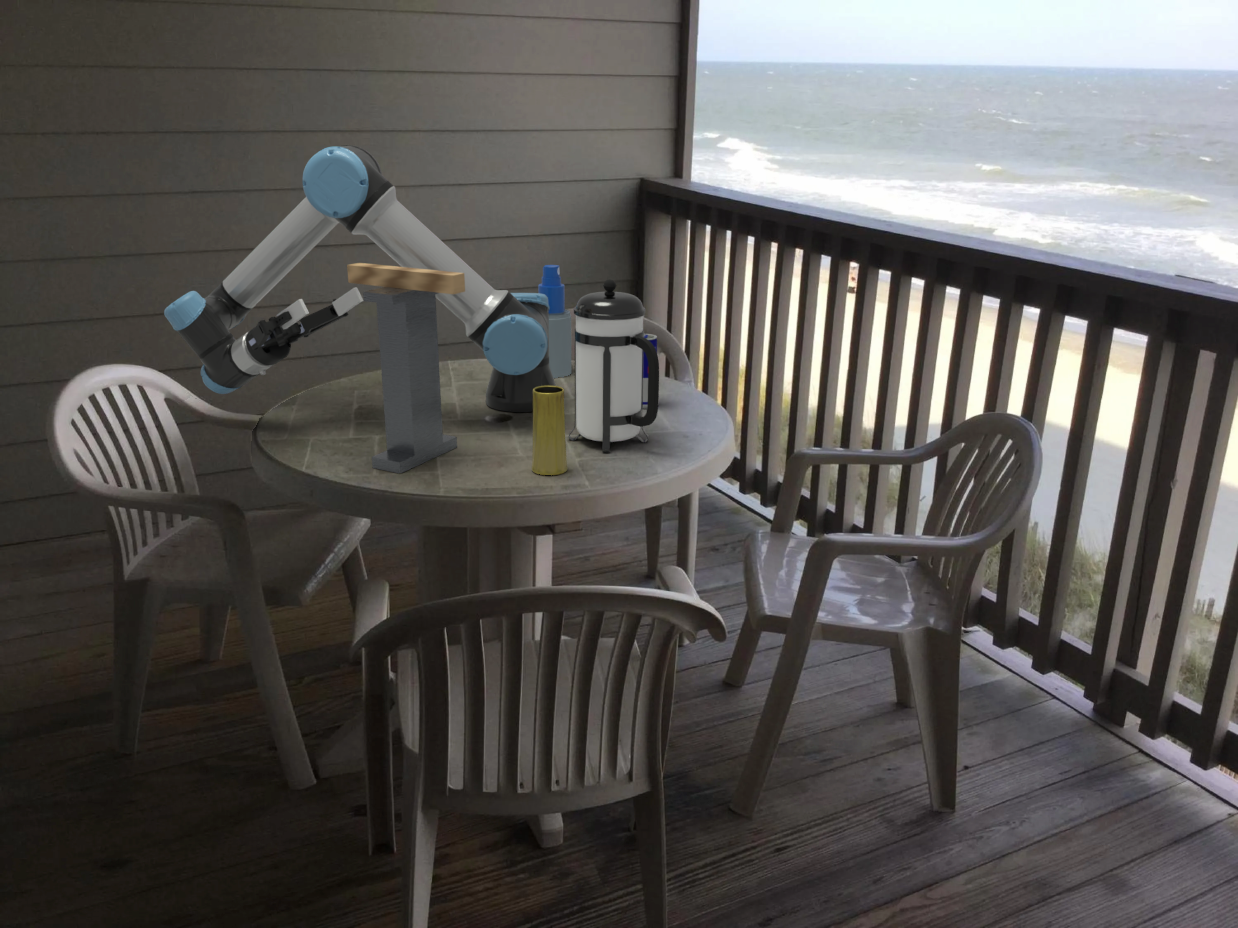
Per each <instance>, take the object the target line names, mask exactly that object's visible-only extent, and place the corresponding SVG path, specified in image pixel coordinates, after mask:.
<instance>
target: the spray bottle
mask: <svg viewBox="0 0 1238 928" xmlns="http://www.w3.org/2000/svg"><path fill="white" fill-rule="evenodd" d="M560 269H561V268H560V265H557V264H545V265H544V266H542V276H541V283H539V284H538V286H537V288H538V289H537V290H538V293H541V294H545V295H546V296H547V297H548V305H549V307H550V308H549V366H550V370H551V373H552V376H553V378H554V379H559V378H558V377H562V378H565V377H564V376H567V377H569V376H571V375H572V314H571V311H570V310H568V309H566V308H565V303H566V302H565V301H566V299H565V296H566V295H565V294H566V293H565V284H564V283H562V277H561V276H560V274H561V273H560V272H561V271H560ZM570 374H571V375H570ZM568 375H569V376H568Z"/></svg>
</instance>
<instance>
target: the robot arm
mask: <svg viewBox="0 0 1238 928" xmlns="http://www.w3.org/2000/svg"><path fill="white" fill-rule="evenodd" d="M302 189H303V193H304V195H305V197H304V198H303V199H302V200H301V201H300V203H298V204H297V206H295V208H294V209H292V210H291V212H290V213H288V214H287V215H286V216H285V218H283V219H282V220H281V221H280V223H279V224H278V225H277V226H276V227H275V228H274V229H273V230H272V231H271V232H269V234H268V235H267V236H266V237H265V238H264V239H263V240H262V241H261V242H260V243H259V244H258V245H257V246H256V247H255V248H253V250H252V251H251V252H250V253H249V254H248V255H247V256H246V257H245V258H244V259H243V261H241V262H240V263H239V264H238V265H237V266H236V267H235V269H233V270H232V272H231V273H229V274H228V275H227V276H226V277H225V278H224V279H223V281H221V283H219V285H217V286H216V288H214V290H212V291H211V293H210V294H208V295H207V296H206V297H202V295H201V294H200V293H198V291H196V290H190V291H188V292H186V293H185V294H183V295H181V296H180V297H179V298H177V299H176V300H175V301H173V302H171V303H170V304H169V305H168V306H166V308H164V311H163V313H164V314H163V315H164V317H165V318H166V319H167V321H168V322H169V323H170V325H171V326H172V328H173V330H174V331H175V332H176V333H178V335H179V336H180V337H181V338H182V339H183V341H185V343H186V344H187V345H188V347H189V348H190V349H191V350H192V351H193V352H194V354H195V355H196V356H197V357H198V358H199V360H200V362H201V363H202V366H201V369H200V376H201V378H202V382H203V384H204V385H205V387H207V388H208V389H209V390H210V391H212V392H214V393H216V394H218V395H225V394H227V395H228V394H231V393H232V392H234V391H236V390H237V389H241V388H242V387H244V386H245V385H247V384H248V383H250V382H251V381H252V380H254V379H255V378H257V377H258V376H260V375H261V376H264V375H266V374H267V373H266V370H268V369H270V368H271V367H272V366H274V365H277V363H279V362H282V361H283V360H284V359H285V358H287V357H288V356H289V354H290V353H291V348H292V344H293V343H296V342H297V341H298V340H300V339H301V338H308V337H309V336H311V335H312V334H314V333H316V332H317V331H320V330H322V329H323V328H325V327H327V326H329V325H331V324H333V323H335V322H337V321H339V320H341V319H343V318H345V317H348V315H349V313H348V311H350V310H352V309H353V308H354V307H356V306H358V305H359V304H360V303H362V302H365V301H364V297H363V295H362V294H361V293H360V290H359V288H358V287H357V286H356V287H355V286H354V287H352V289H351V288H350V290H348V291H347V292H345V293H344V294H342V295H341V296H340V297H338V298H333V299H332V302H331V305H328V306H326V307H324V308H322V309H319V310H317V311H314V312H313V313H311V314H310V312H309V310H308V308H307V305H306V304H305V302H304V300H303V298H299V299H297V300H296V301H294V302H293V303H291V304H290V305H289V306H287V307H285V308H284V309H282V310H281V311H280V312H279V313H277V314H276V316H271V317H269V318H268V321H266V319H261V320H259V321H258V323H256V326H254V327H253V328H252V329H250V330H249V331H247V332H246V333H244V334H242V335H241V336H239V337H238V338H237V339H236V338H235V337H234V335H233V334H232V332H230V330H231V329H235V328H236V327H237V326H239V325H240V324H241V323H242V322H243V321H244V320H245V318H246V316H247V315H248V314H249V312H251V311H252V309H253V308H254V307H256V305H257V304H258V303H260V302H261V301H262V299H263V298H265V296H266V295H267V294H268V293H269V292H271V290H273V288H274V287H276V285H278V283H279V282H281V281H282V280H283V278H285V276H287V274H288V273H289V272H291V271H292V270H293V269H294V268H295V266H296V265H298V263H300V262H301V261H302V260H303V259H304V258H305V257H306V255H308V254H309V253H310V252H311V251H312V250H313V249H314V248H315V247H316V246H317V245H318V244H319V243H320V242H321V241H322V240H323V239H324V238H325V237H326V236H327V235H328V234H329V233H330V232H331V231H332V230H333V229H334V228H335V227H336V226H338V224H340V225H341V226H343V227H344V228H345V229H346V230H347V231H348V232H350V233H351V235H354V236H355V235H363V236H364V235H365V236H367V238H369V239H370V240H371V241H372V242H373V243H375V245H377V247H379V248H380V249H381V250H382V251H383V252H384V253H386V254H387V256H389V257H390V258H391V259H392V260H393V261H394V262H396V263H397V264H398V265H399V267H407V268H418V269H428V270H438V271H448V272H459V273H464V277H465V292H462V293H458V294H446V293H438V294H435V296H436V300H438V301H439V302H440V303H442V305H444V306H445V307H446V308H447V310H449V311H450V312H451V313H452V314H453V315H455V317H457V318H458V319H459V320H460V321H462V323H464V327H465V335H466V337H467V338H468V339H469V340H471V341H472V342H473V343H474V344H475V345H476V346H477V347H479V349H480V350H482V351H483V354H484V357H485V359H486V360H487V362H488V363H489V364H490V366H492V371H491V373H490V376H489V380H488V383H487V387H486V390H485V405H487V406H488V407H489V408H491V409H493V410H497V411H501V412H512V413H513V412H514V413H528V412H529V413H531V412H533V389H534V388H535V387H539V386H548V385H549V386H557V385H556V381H555V378H553V376H552V373H551V370H550V366H549V308H550V307H549V305H548V297H547V296H546V295H545V294H541V293H537V292H510V291H509V290H507V289H501V290H500V289H495V288H494V287H492V285H490V284H489V283H488V282H487V281H486V280H485V279H484V278H483V277H482V276H481V275H480V274H479V273H477V271H475V270H474V269H473V268H471V267H470V266H469V264H467V262H465V261H464V260H463V259H462V258H461V257H460V256H459V255H458V254H457V253H456V252H454V250H453V249H451V248H450V247H449V246H448V245H447V244H445V243H444V242H443V241H442V239H440V238H439V237H438V236H437V235H436V234H435V233H433V231H431V230H430V229H429V228H428V227H427V226H426V225H425V224H424V223H422V221H420V220H419V219H418V218H417V217H416V216H415V215H414V214H413V213H412V212H411V211H410V210H408V209H407V208H406V207H405V206H404V205H403V204H402V203H401V202H400V201H399V200H398V198H397V194H396V193H397V191H396V186H394V185H393V184H392V183H391V181H389V180H388V179H387V178H386V177H385V176H384V175H383V172H382V169H381V166H380V163H379V162H378V161H377V159H376V157H375V156H374V155H373V154H372V153H371V152H369V151H368V150H366V149H364V148H363V147H360V146H357V145H350V144H349V145H348V144H347V145H341V146H328V147H325V148H323V149H321V150H319V151H318V152H316V153H315V154H314V155H312V157H311V158H309V159H308V161H307V163H306V164H305V167H304V169H303V173H302ZM298 322H300V323H298Z"/></svg>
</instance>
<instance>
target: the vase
mask: <svg viewBox="0 0 1238 928" xmlns="http://www.w3.org/2000/svg"><path fill="white" fill-rule="evenodd" d="M565 417H566V416H565V389H564V388H563V387H562V386H559V385H556V386H549V385H548V386H539V387H535V388H534V389H533V411H532V448H531V449H532V452H531V453H532V454H531V455H532V456H531V458H532V459H531V462H532V463H531V464H532V465H531V471H532V472H533V473H534V474H537V475H539V474H540V476H545V475H551V476H552V475H553V476H559V475H562V474H564V473H566V472H567V471H568V462H567V461H568V459H567V458H568V457H567V442H566V441H567V439H566V423H565V422H566V421H565V419H566V418H565Z"/></svg>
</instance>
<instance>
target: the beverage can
mask: <svg viewBox="0 0 1238 928" xmlns="http://www.w3.org/2000/svg"><path fill="white" fill-rule="evenodd" d="M644 338H646V339H648V340H649V341H650V342H651V343H652V344H653V346H654V347H655V350H656V352H657V353H658V339H657V338H658V336H657V335H656V334H652V333H644ZM642 367H643V410H644V409H646V410H647V406H648V360H647V356H646V354H645V352H644V364H643V351H642ZM641 410H642V403H641Z"/></svg>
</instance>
